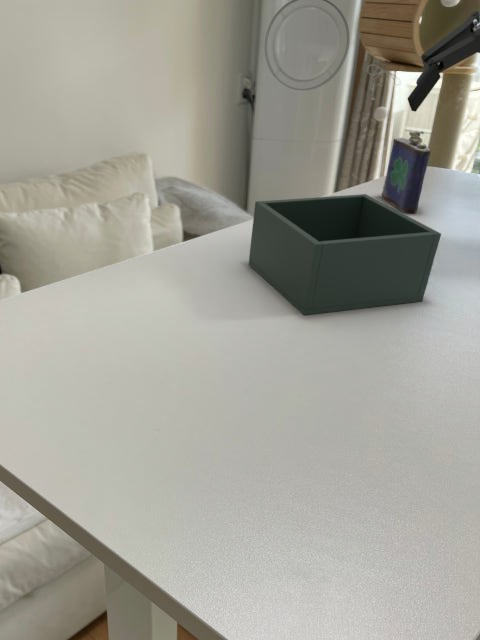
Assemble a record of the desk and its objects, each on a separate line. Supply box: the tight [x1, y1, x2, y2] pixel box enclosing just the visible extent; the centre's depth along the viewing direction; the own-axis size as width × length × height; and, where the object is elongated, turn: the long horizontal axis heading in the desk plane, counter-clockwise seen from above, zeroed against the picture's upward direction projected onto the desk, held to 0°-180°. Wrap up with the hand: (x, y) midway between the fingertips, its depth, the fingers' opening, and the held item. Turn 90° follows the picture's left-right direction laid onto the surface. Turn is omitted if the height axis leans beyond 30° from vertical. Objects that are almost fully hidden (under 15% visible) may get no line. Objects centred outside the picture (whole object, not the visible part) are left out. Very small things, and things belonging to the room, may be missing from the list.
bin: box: [248, 193, 442, 316], centre depth 73 cm, size 15×15×8 cm
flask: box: [381, 130, 432, 215], centre depth 98 cm, size 9×3×11 cm, turn 9°
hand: (449, 112), depth 98 cm, fingers open, 13 cm apart
